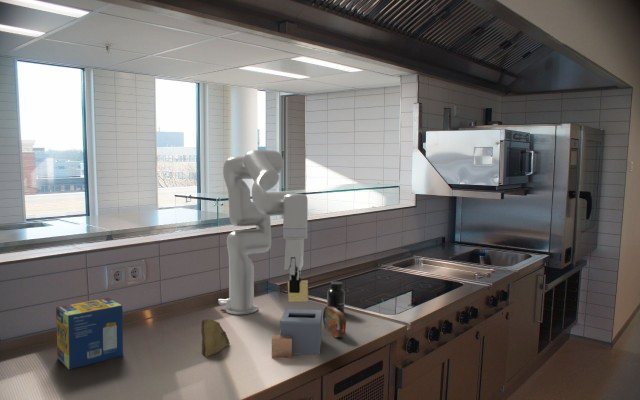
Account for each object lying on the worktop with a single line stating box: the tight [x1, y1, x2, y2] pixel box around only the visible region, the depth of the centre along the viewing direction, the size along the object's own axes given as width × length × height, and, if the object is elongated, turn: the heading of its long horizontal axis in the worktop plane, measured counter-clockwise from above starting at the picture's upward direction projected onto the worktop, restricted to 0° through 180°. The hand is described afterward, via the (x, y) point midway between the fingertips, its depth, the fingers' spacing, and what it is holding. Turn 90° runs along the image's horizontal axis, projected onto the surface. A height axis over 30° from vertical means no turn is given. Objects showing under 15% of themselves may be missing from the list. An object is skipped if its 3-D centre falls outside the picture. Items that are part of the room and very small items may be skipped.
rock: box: [200, 318, 230, 358], centre depth 147 cm, size 11×9×10 cm
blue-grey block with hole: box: [279, 308, 323, 355], centre depth 151 cm, size 12×12×10 cm
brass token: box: [287, 279, 310, 303], centre depth 150 cm, size 2×6×6 cm, turn 86°
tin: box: [322, 305, 347, 338], centre depth 163 cm, size 15×3×8 cm, turn 21°
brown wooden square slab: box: [271, 334, 293, 359], centre depth 143 cm, size 2×6×6 cm, turn 87°
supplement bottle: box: [326, 281, 346, 315], centre depth 185 cm, size 7×7×12 cm
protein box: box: [55, 297, 124, 370], centre depth 140 cm, size 10×15×16 cm
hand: (295, 291), depth 150 cm, fingers closed on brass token, 2 cm apart
